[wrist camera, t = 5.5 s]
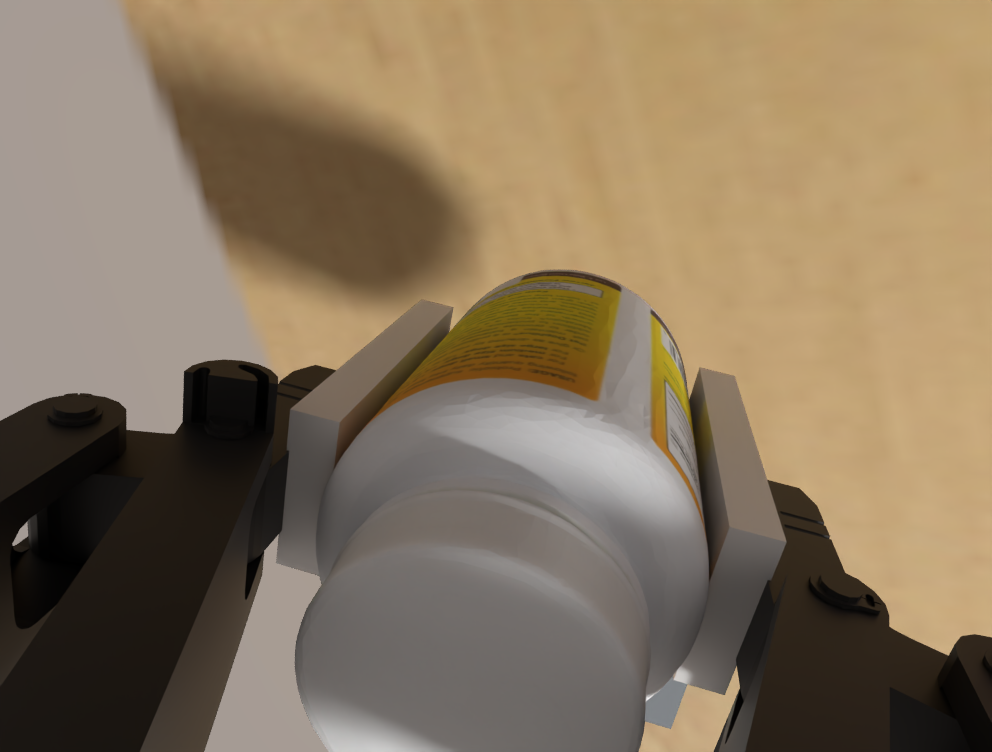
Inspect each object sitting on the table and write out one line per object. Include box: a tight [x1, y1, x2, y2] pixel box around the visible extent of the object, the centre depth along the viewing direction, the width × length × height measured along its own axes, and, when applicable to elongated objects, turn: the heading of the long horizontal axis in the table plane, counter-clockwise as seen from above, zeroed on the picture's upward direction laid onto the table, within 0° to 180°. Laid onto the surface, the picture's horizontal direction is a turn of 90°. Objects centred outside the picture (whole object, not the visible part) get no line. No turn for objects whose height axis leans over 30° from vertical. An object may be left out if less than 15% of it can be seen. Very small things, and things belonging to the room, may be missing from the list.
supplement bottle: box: [295, 270, 709, 752], centre depth 13 cm, size 6×6×10 cm
